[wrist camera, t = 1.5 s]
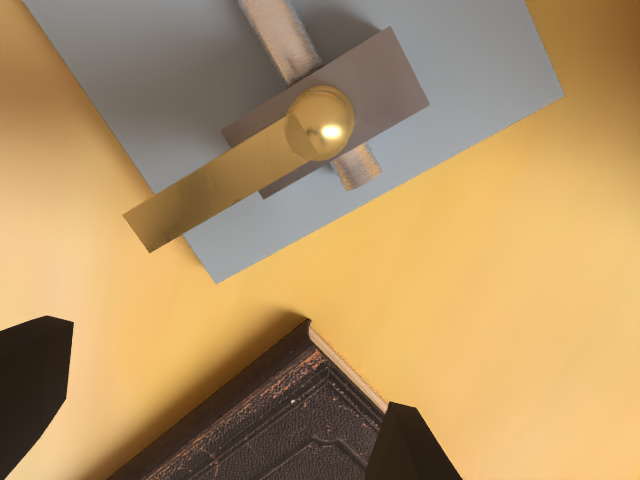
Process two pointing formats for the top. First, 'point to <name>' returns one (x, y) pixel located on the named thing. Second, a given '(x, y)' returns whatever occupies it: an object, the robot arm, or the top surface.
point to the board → (265, 83)
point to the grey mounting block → (361, 89)
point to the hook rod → (303, 73)
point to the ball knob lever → (247, 166)
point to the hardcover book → (273, 422)
